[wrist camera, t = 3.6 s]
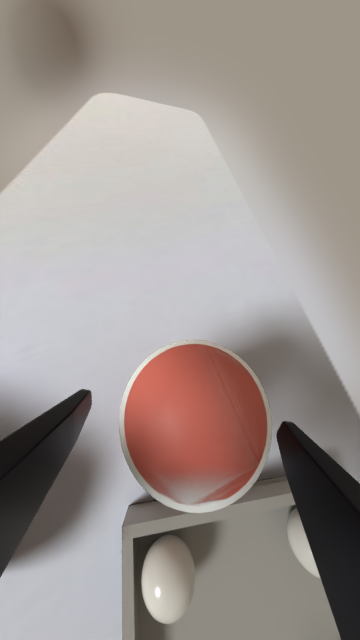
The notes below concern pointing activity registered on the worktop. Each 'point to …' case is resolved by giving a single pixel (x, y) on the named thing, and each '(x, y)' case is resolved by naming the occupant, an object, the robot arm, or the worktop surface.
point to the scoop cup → (195, 426)
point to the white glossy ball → (300, 543)
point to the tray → (228, 572)
